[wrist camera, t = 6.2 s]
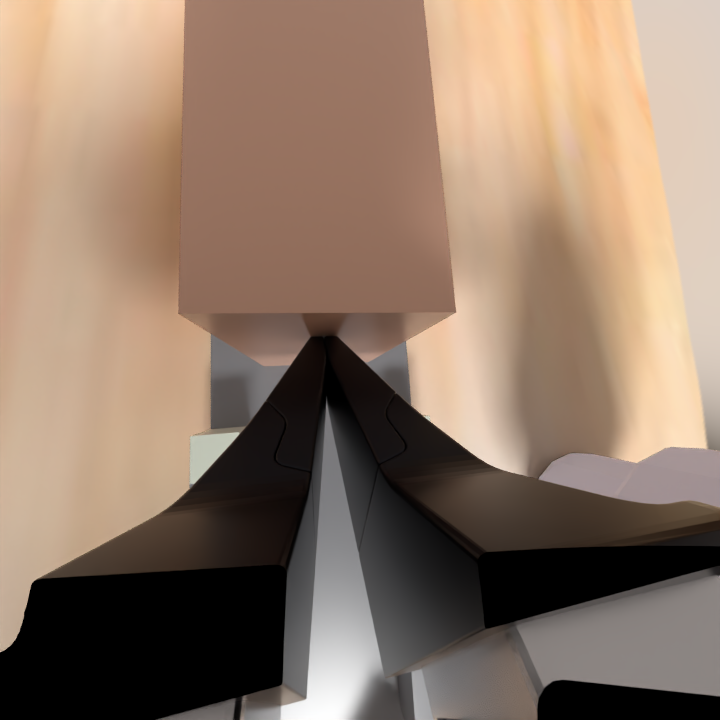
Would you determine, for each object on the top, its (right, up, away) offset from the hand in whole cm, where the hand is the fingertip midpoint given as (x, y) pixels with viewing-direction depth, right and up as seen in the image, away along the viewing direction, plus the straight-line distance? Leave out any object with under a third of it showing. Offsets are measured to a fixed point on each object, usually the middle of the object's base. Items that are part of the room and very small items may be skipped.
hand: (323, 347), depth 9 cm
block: (-2, +5, +8) cm, 10 cm away
